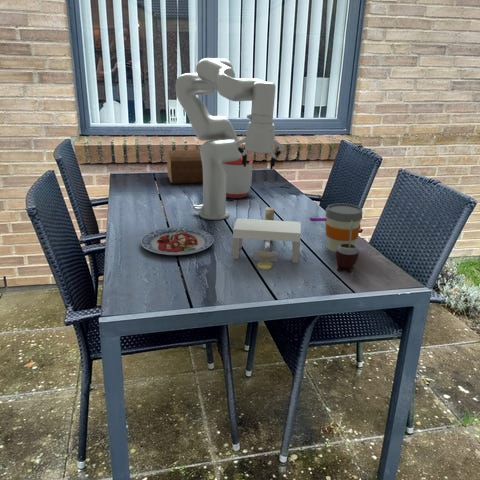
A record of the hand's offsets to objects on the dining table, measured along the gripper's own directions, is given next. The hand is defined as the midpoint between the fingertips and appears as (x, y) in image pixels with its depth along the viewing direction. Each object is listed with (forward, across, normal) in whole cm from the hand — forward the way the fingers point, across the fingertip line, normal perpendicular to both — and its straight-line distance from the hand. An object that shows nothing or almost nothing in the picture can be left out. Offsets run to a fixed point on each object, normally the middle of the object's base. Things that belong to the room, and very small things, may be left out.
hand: (258, 167), depth 170 cm
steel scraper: (+25, +6, -15) cm, 30 cm away
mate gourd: (+24, +32, -27) cm, 48 cm away
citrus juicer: (+29, -12, +50) cm, 59 cm away
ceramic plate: (+27, -26, -16) cm, 41 cm away
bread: (+31, -37, +76) cm, 90 cm away
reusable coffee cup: (+25, +32, -10) cm, 42 cm away
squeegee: (+27, +28, +18) cm, 43 cm away
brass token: (+25, +6, -30) cm, 39 cm away
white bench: (+25, +6, -20) cm, 32 cm away
